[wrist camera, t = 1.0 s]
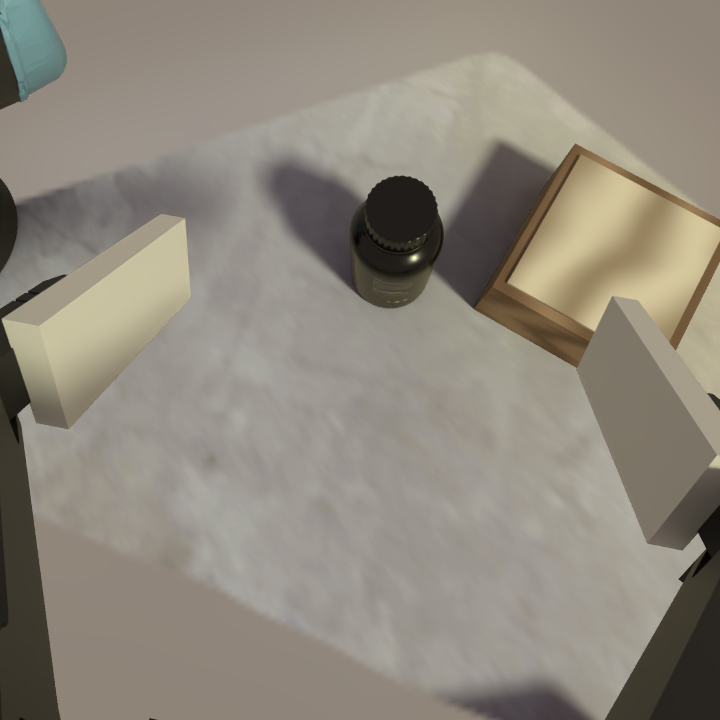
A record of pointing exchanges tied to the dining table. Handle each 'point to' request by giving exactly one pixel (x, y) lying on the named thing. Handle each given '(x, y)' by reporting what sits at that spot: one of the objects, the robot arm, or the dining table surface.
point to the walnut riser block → (601, 257)
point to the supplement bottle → (395, 242)
